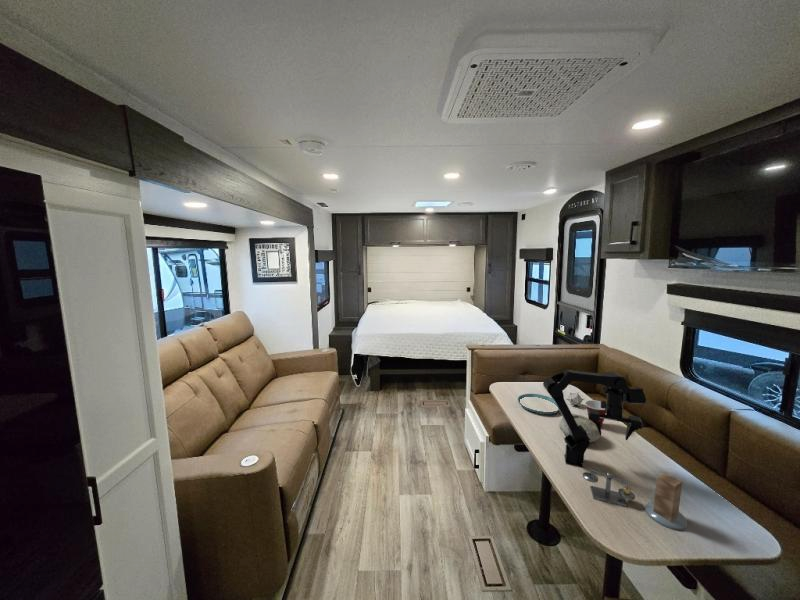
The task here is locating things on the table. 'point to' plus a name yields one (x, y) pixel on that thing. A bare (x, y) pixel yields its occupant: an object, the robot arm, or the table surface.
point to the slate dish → (676, 524)
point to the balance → (608, 489)
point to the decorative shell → (585, 423)
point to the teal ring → (538, 397)
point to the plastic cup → (595, 408)
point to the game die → (575, 399)
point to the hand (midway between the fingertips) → (613, 437)
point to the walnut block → (667, 496)
